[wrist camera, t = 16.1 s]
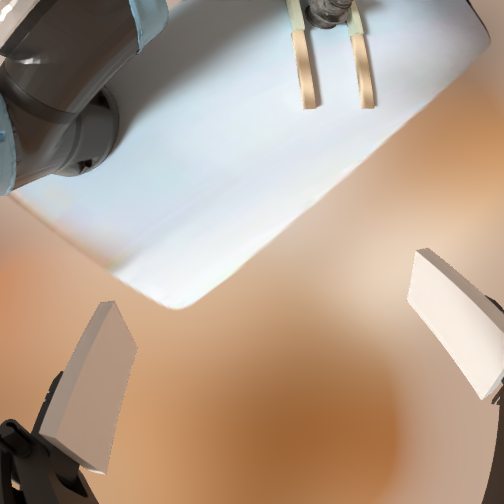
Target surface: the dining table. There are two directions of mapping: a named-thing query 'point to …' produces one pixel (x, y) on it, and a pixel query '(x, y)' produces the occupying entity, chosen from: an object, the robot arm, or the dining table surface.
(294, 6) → the socket
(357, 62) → the channel
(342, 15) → the dark stone chess piece
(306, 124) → the dining table surface
